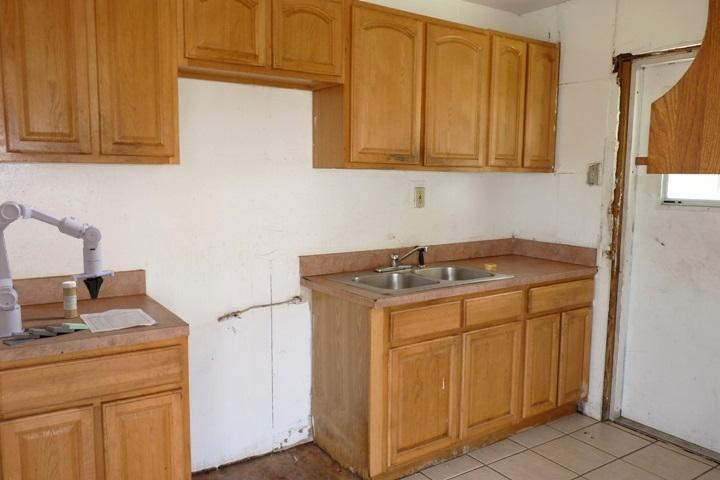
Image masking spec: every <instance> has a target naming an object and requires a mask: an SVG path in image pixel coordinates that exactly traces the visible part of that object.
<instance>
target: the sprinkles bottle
mask: <svg viewBox="0 0 720 480" xmlns="http://www.w3.org/2000/svg"><path fill="white" fill-rule="evenodd" d="M61 286H62V287H61V288H62V294H63V295H62V297H63V301H62V302H63V318H64V319H75V318H77V317H78V316H79V315H78V302H77V301H78V300H77V292H76V291H77V281H71V280H68V281H63V282H62V283H61Z"/></svg>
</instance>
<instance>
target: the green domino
mask: <svg viewBox="0 0 720 480" xmlns="http://www.w3.org/2000/svg"><path fill="white" fill-rule="evenodd" d="M60 327H64V328H68V329H75V330H89V329H90V325H88V324H84V323H68V322H67V323H66V322H65V323H63V322H62V323H61V326H60Z"/></svg>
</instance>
